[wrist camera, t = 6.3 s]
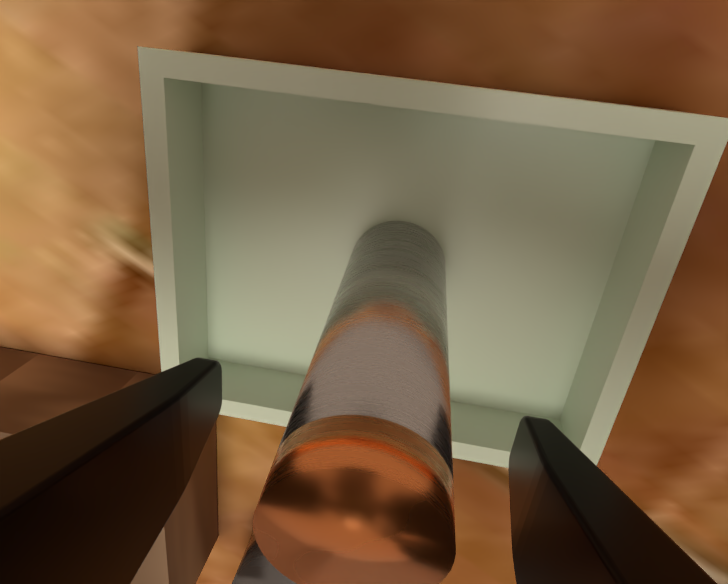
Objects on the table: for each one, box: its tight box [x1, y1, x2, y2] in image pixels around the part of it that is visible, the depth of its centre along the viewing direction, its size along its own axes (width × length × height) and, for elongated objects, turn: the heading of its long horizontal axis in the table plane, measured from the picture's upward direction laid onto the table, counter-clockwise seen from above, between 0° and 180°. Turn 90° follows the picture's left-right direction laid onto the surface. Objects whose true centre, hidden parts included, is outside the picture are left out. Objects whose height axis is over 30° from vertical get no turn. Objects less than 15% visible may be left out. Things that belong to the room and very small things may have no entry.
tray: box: [137, 46, 728, 468], centre depth 14 cm, size 13×10×2 cm
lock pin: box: [253, 221, 456, 584], centre depth 11 cm, size 3×3×9 cm
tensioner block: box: [0, 347, 218, 584], centre depth 18 cm, size 10×8×4 cm
